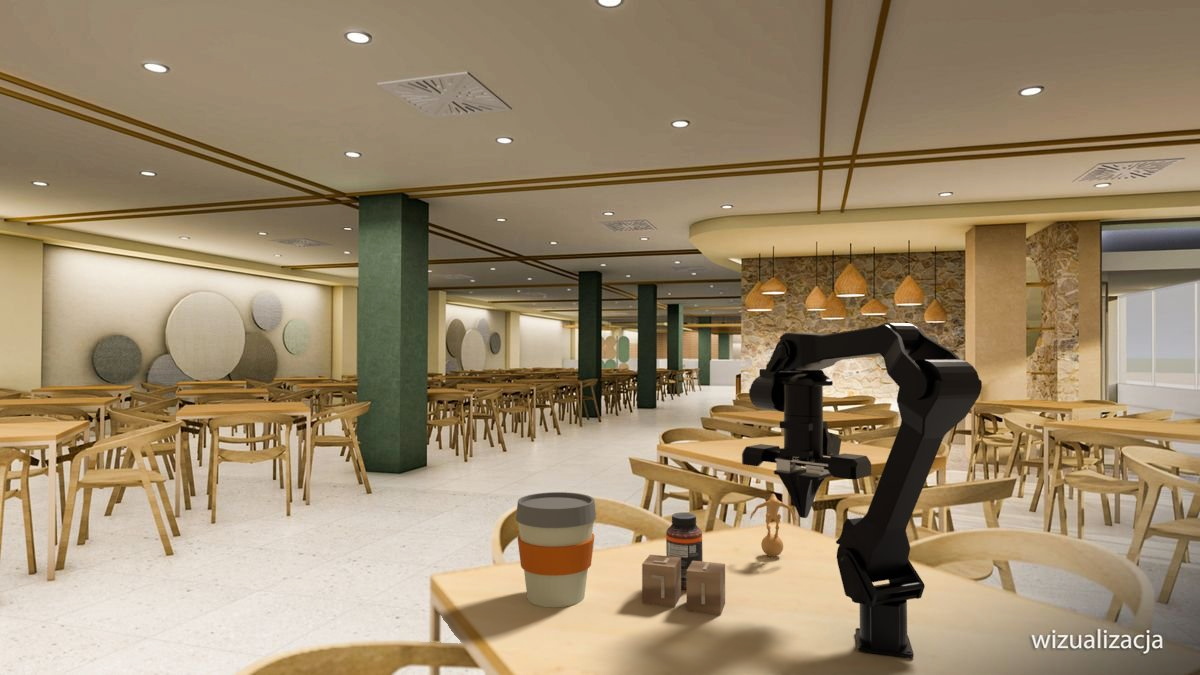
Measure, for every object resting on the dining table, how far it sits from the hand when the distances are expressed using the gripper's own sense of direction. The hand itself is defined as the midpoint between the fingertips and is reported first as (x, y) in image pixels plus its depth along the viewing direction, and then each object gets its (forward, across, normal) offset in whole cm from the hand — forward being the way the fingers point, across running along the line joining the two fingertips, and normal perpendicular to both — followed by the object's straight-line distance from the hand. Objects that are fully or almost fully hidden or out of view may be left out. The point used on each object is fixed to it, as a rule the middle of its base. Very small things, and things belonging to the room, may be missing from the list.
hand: (803, 517), depth 102 cm
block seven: (+13, +16, +14) cm, 25 cm away
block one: (+13, +10, +12) cm, 20 cm away
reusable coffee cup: (+13, +29, +25) cm, 40 cm away
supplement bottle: (+13, +18, +6) cm, 23 cm away
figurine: (+13, +15, -17) cm, 26 cm away
